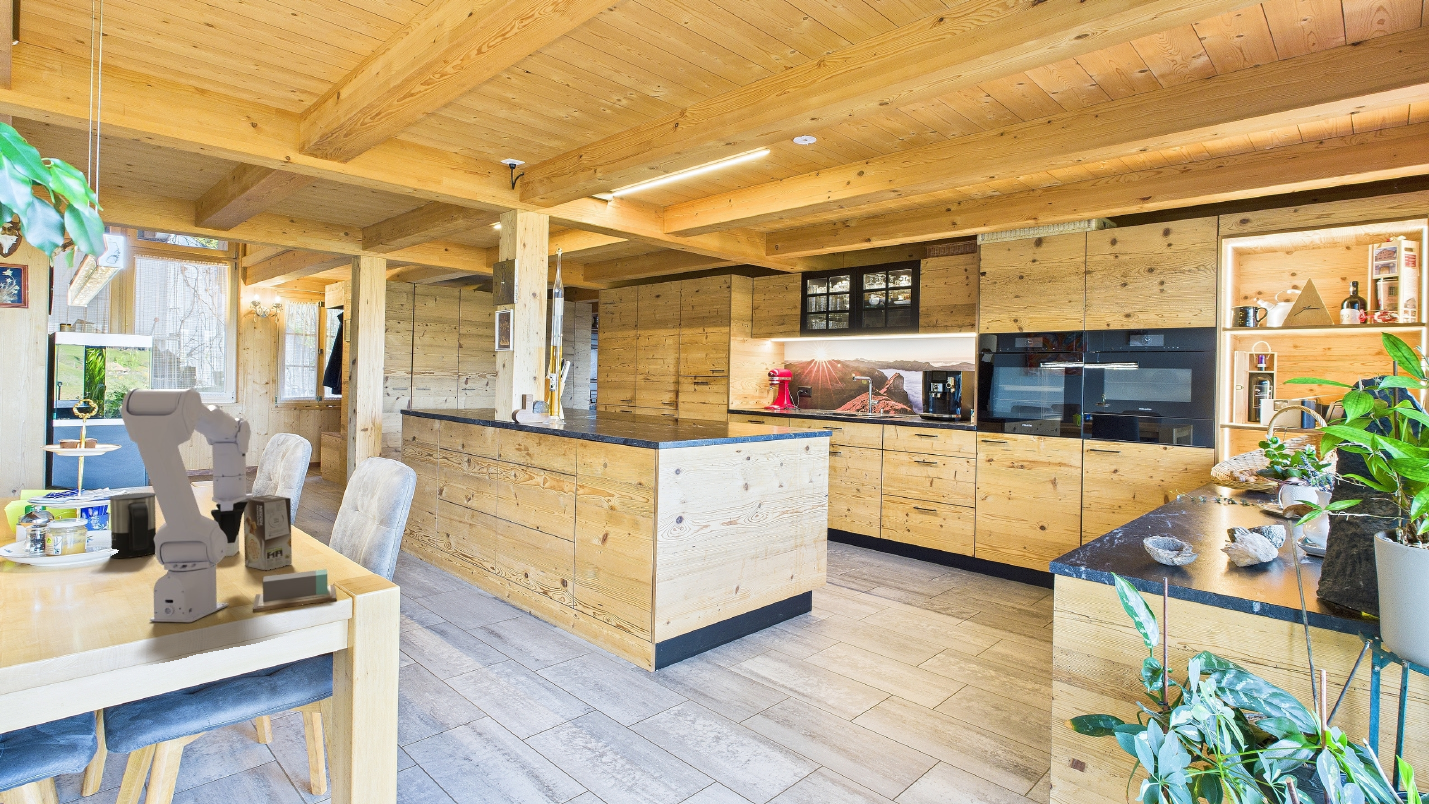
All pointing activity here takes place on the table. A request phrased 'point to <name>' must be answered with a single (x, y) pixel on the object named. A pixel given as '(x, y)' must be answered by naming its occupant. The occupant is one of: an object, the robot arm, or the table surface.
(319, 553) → the table surface
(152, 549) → the milk frother
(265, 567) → the coffee box
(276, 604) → the wooden tray
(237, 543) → the skincare box
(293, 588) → the gray teal block
